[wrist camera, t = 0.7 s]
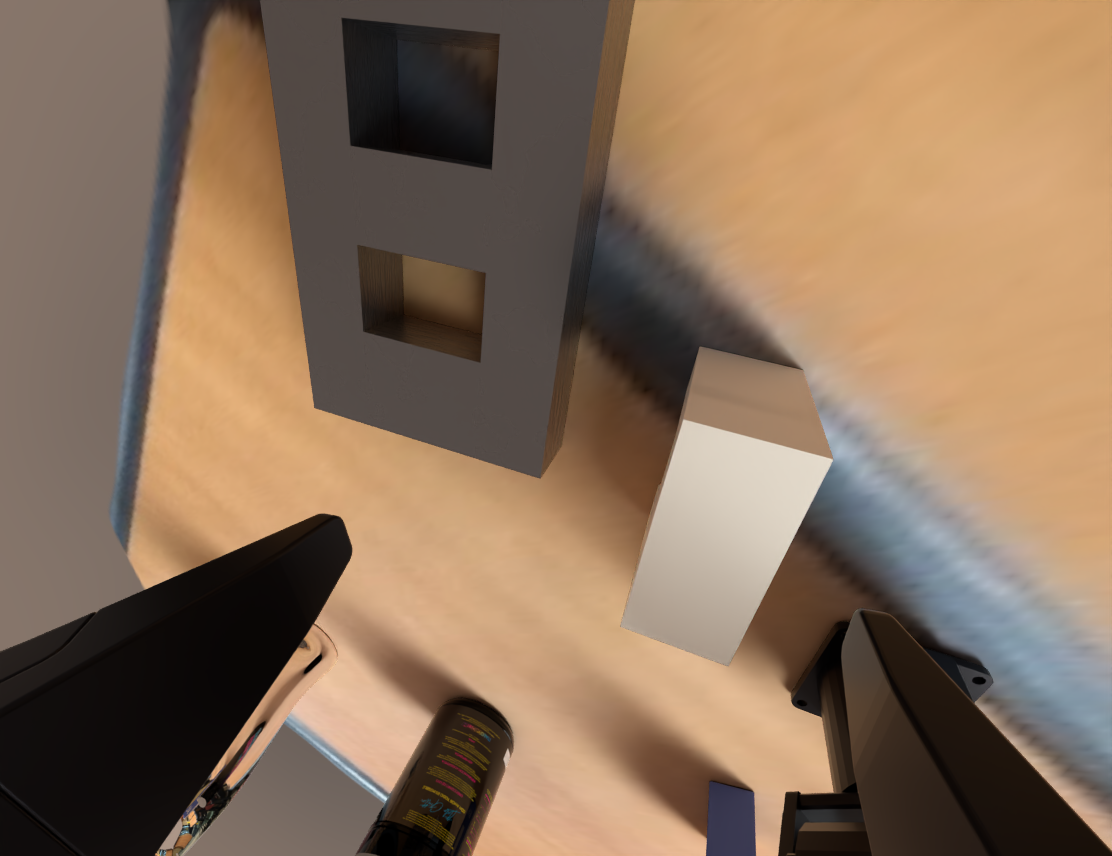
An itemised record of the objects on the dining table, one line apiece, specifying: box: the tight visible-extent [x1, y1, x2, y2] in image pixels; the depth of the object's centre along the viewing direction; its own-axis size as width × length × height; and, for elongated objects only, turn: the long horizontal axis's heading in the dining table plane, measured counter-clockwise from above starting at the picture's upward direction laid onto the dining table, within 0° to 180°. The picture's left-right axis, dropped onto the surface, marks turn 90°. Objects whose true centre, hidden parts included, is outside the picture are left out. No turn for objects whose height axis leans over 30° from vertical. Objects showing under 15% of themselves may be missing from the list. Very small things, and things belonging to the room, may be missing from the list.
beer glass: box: [155, 624, 337, 856], centre depth 35 cm, size 7×7×15 cm
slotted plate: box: [260, 0, 635, 478], centre depth 19 cm, size 20×12×3 cm, turn 172°
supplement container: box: [355, 698, 514, 856], centre depth 34 cm, size 7×7×10 cm
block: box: [620, 346, 833, 666], centre depth 18 cm, size 9×4×7 cm, turn 172°
